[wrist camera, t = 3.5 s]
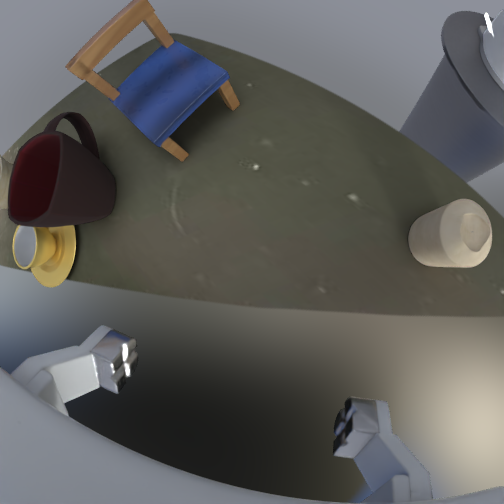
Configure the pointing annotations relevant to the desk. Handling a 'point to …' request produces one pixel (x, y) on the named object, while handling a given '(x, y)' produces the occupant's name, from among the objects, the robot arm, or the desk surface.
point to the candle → (452, 235)
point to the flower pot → (4, 182)
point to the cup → (45, 252)
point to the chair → (154, 77)
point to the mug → (60, 179)
